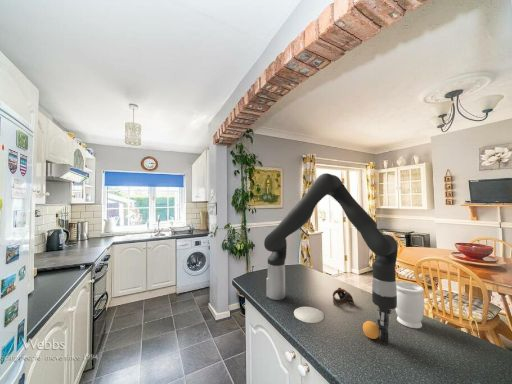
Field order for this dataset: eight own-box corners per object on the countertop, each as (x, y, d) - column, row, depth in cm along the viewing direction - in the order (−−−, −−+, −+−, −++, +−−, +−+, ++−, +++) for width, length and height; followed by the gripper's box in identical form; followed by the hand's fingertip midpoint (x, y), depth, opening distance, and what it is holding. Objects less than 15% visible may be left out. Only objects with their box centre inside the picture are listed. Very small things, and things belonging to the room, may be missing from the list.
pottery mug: (359, 310, 95) (352, 296, 94) (340, 318, 97) (333, 304, 95) (349, 293, 107) (343, 280, 106) (332, 299, 108) (326, 287, 107)
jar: (416, 333, 78) (415, 293, 78) (388, 319, 87) (387, 283, 88) (430, 325, 82) (428, 287, 83) (402, 313, 92) (401, 279, 92)
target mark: (290, 318, 88) (290, 318, 88) (297, 304, 100) (297, 304, 100) (321, 326, 83) (321, 325, 83) (325, 310, 94) (325, 310, 94)
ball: (363, 339, 74) (362, 324, 75) (362, 331, 79) (362, 316, 80) (380, 344, 72) (380, 328, 72) (379, 335, 77) (378, 319, 77)
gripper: (375, 282, 81) (376, 327, 81) (368, 294, 71) (369, 345, 70) (398, 287, 76) (399, 335, 76) (394, 301, 66) (395, 356, 66)
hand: (384, 340), depth 73 cm, fingers closed
